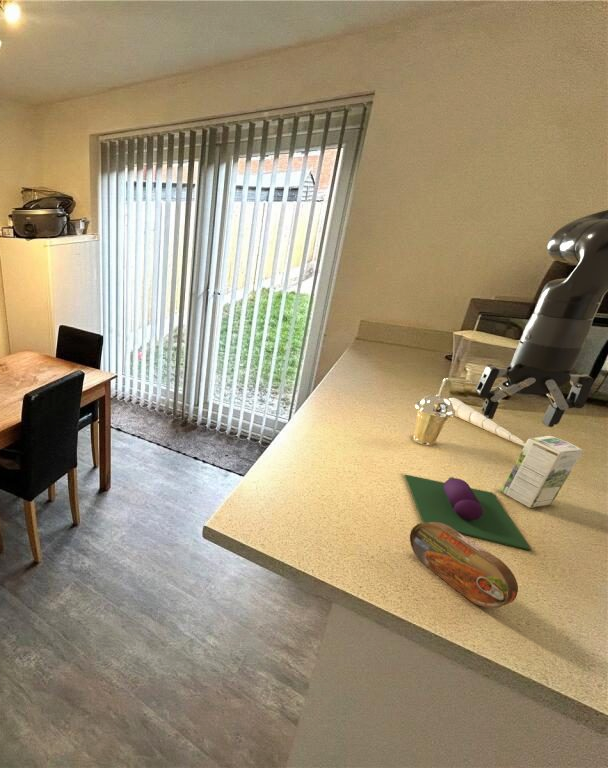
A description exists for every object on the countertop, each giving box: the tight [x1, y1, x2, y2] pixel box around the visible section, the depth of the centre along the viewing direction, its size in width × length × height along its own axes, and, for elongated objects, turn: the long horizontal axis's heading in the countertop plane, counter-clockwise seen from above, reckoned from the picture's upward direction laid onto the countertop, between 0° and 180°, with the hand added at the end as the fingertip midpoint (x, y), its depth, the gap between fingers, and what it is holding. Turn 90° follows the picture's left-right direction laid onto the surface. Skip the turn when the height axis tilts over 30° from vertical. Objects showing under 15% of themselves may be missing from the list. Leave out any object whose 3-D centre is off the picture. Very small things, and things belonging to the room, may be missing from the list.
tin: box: [409, 522, 519, 609], centre depth 66 cm, size 15×3×8 cm, turn 13°
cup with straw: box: [412, 377, 474, 446], centre depth 104 cm, size 8×9×20 cm
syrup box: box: [501, 435, 584, 509], centre depth 83 cm, size 6×6×14 cm
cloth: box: [404, 474, 531, 552], centre depth 83 cm, size 16×18×1 cm
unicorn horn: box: [448, 397, 526, 447], centre depth 113 cm, size 5×24×5 cm, turn 4°
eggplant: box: [443, 476, 483, 520], centre depth 83 cm, size 4×13×4 cm, turn 153°
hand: (516, 421), depth 75 cm, fingers open, 8 cm apart
